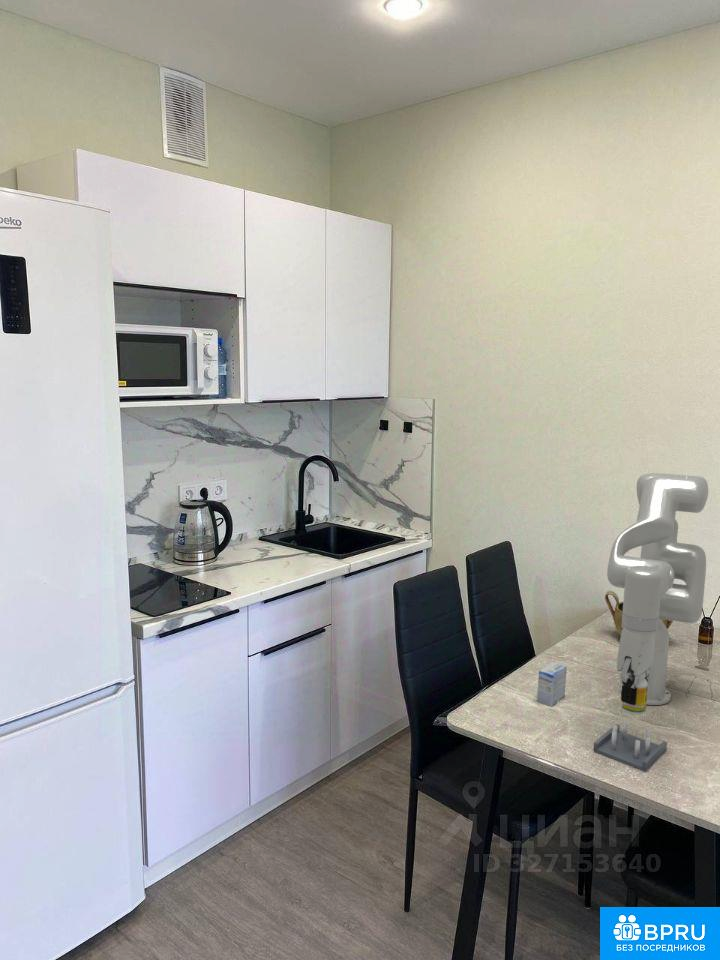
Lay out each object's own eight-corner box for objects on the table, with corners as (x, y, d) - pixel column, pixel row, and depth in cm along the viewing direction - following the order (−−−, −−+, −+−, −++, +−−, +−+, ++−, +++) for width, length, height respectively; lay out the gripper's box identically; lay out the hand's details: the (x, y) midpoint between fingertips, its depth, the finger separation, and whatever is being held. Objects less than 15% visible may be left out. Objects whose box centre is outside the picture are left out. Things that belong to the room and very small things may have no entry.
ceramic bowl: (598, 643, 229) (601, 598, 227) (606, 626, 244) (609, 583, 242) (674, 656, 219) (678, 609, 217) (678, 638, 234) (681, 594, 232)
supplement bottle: (617, 704, 166) (620, 664, 165) (641, 705, 166) (644, 665, 164) (624, 715, 161) (627, 674, 159) (648, 716, 160) (652, 675, 159)
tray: (615, 732, 173) (617, 713, 173) (666, 751, 165) (668, 731, 165) (593, 751, 165) (594, 732, 164) (645, 772, 157) (647, 751, 156)
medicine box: (549, 691, 195) (551, 661, 194) (565, 696, 192) (567, 665, 191) (536, 701, 189) (538, 670, 188) (552, 707, 186) (554, 675, 185)
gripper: (638, 609, 169) (633, 682, 172) (606, 627, 156) (601, 705, 159) (671, 616, 164) (665, 691, 166) (641, 636, 151) (634, 717, 154)
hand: (634, 697), depth 163 cm, fingers closed on supplement bottle, 5 cm apart
